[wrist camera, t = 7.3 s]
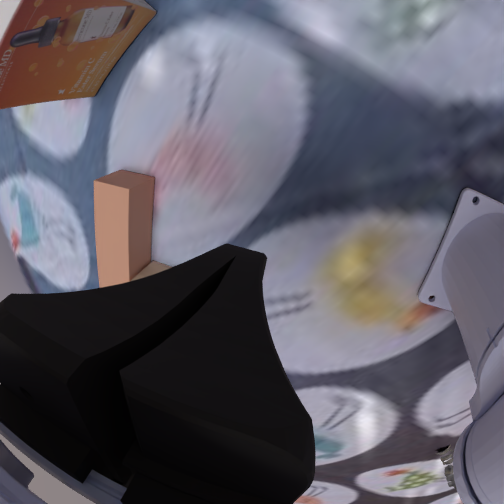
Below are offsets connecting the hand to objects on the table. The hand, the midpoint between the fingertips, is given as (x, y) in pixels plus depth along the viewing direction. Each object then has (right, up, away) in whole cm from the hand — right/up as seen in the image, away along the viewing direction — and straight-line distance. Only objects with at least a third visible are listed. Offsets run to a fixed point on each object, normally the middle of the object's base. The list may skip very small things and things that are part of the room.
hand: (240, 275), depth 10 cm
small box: (-10, +16, +7) cm, 20 cm away
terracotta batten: (-9, -2, +16) cm, 18 cm away
